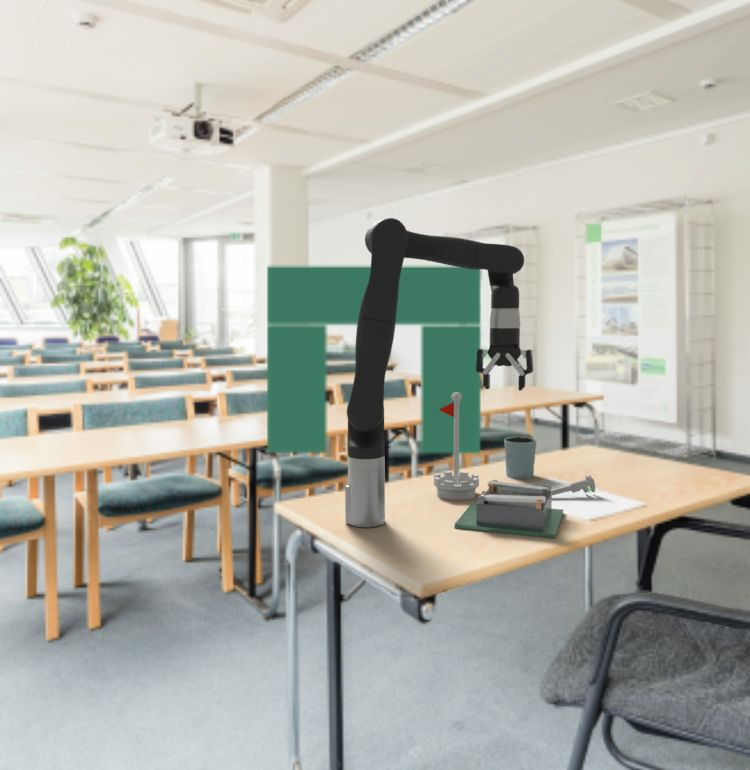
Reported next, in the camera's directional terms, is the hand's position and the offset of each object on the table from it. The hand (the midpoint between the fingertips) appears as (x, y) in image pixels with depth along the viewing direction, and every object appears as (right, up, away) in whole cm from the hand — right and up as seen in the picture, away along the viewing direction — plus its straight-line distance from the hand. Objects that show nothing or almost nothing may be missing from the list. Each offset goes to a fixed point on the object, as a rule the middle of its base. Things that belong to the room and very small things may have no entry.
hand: (504, 389), depth 175 cm
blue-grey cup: (+13, -28, +43) cm, 53 cm away
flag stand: (-10, -31, +22) cm, 39 cm away
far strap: (+4, -26, +2) cm, 26 cm away
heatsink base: (+1, -33, -3) cm, 33 cm away
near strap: (0, -27, -9) cm, 29 cm away
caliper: (+20, -31, +18) cm, 41 cm away
